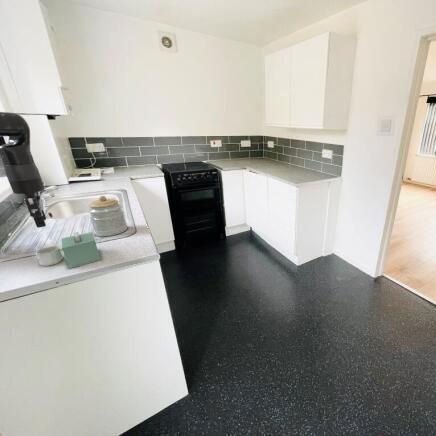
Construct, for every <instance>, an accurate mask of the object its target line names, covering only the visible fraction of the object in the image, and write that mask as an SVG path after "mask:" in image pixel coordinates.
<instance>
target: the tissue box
mask: <svg viewBox="0 0 436 436" xmlns="http://www.w3.org/2000/svg"><path fill="white" fill-rule="evenodd" d="M95 240H96V239H95V237H94V235H93V232H92V231H90V232H85V233H81V234H79V232H78V231H77V232H74V233H73V235H72V236H66V237H63V238H62V237H61V251H62V252H63V257H64V259H65V261H66V263H67V266H68V269H72V268H76V267H80V266H84V265H87V264H92V263H95V262H98V261H101V260H102V259H101V256H100V253H99V250H98V246H97V243H96V241H95Z"/></svg>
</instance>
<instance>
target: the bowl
mask: <svg viewBox="0 0 436 436" xmlns="http://www.w3.org/2000/svg"><path fill="white" fill-rule="evenodd" d="M35 256H36V258H37V261H38V264H39V265H40V266H44V267H47V266H53V265H57V264H59V263H61V262H62V261H63V259H64V255H63V254H62V249H61V248H60V246H59V245H52V246H47V247H42V248H41V249H39V250H36V251H35Z"/></svg>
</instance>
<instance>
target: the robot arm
mask: <svg viewBox="0 0 436 436" xmlns="http://www.w3.org/2000/svg"><path fill="white" fill-rule="evenodd" d="M0 137H3V138H4V137H8V142H7V143H4V144H1V145H0V160H1V163H2V165H3V169H4V173H5V176H6V178H7V181H8V183H9V185H10V189H11V191H12V193H13V194H15V195H24V196H25V197H24V198H23V203H24V204H25V206H26V209H27V211H28V213H29V216H30V217H31V218H32V219H33V221H34V223H35V226H36V228H44V227H46V225H47V224H46V221H47V216H46V214H45V211H44V203H43V199H42V195H39V193H40V192H43V191H44V190H45V189H46V187H45V184H44V182H43V179H42V177H41V174H40V170H39V168H38V166H37V165H36V162H35V160H34V156H33V155H32V152H31V129H30V126H29V123H28V122H27V120H26V119H25V118H24V117H23V116H22V115H20V114H18V113H16V112H10V111H9V112H7V111H6V112H5V111H0Z"/></svg>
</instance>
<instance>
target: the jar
mask: <svg viewBox="0 0 436 436" xmlns="http://www.w3.org/2000/svg"><path fill="white" fill-rule="evenodd" d="M119 202H120V201H119V200H117V199H115V198H107V196H106V195H101V196H99V198H98V199H96V200H93V201H91V203H89V204H88V207H89V209H88V210H87V212H88V213H89V214H90V216H89V219H90V222H91V225H92V229H93V232H94V234H95V235H96V237H111V236H115V235H118V234H122V233H124V232H125V231H127V229H128V224H127V221H126V218H125V213H124V211H123V210H122V208H123V205H122V204H120V203H119Z"/></svg>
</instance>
